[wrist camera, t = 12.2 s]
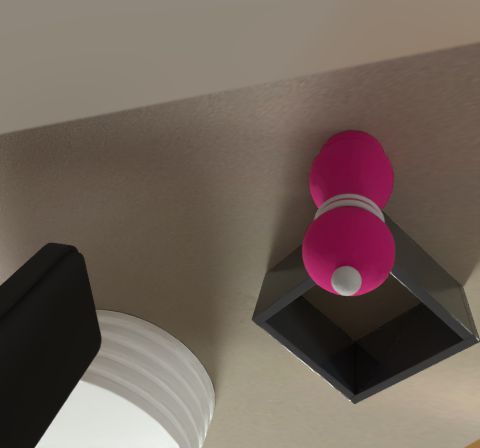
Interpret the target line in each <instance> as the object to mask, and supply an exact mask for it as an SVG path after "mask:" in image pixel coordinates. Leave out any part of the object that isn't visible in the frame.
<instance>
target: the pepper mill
mask: <svg viewBox="0 0 480 448" xmlns="http://www.w3.org/2000/svg"><path fill="white" fill-rule="evenodd" d="M393 179H394V173H393V168H392V165H391V163H390V160H389V159H388V157H387V156H386V155H385V153H384V150H383V148H382V146H381V144H380V143H379V142H378V141H377V140H376V139H375V138H374V137H372V136H371V135H369V134H367V133H365V132H361V131H345V132H341V133H339V134H337V135H335V136H333V137H331V138H330V139H329V140H328V141H327V142H326V143H325V144H324V146H323V147H322V149H321V151H320V153H319V155H318V156H317V157H316V159H315V160H314V162H313V164H312V166H311V170H310V174H309V186H310V192H311V195H312V198H313V200H314V202H315V204H316V206H317V207H318V211H317V213H316V215H315V218H314V221H313V222H312V223H311V224H310V226H309V227H308V229H307V231H306V233H305V236H304V239H303V244H302V257H303V261H304V265H305V268H306V270H307V272H308V273H309V275H310V277H311V278H312V279H313V280H314V281H315V283H317V284H318V285H319V286H321V287H322V288H324V289H325V290H327V291H329V292H332V293H335V294H339V295H344V296H355V295H361V294H364V293H367V292H370V291H372V290H374V289H376V288H377V287H378V286H379V285H381V284H382V283H383V282H384V280H385V279H386V278H387V277H388V275H389V273H390V271H391V269H392V267H393V264H394V259H395V243H394V239H393V235H392V234H391V232H390V230H389V228H388V226H387V225H386V224H385V221H384V216H383V214H382V212H381V210H382V209H383V208H384V206H385V205H386V203H387V201H388V200H389V198H390V195H391V193H392V189H393Z"/></svg>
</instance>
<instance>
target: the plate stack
mask: <svg viewBox="0 0 480 448" xmlns="http://www.w3.org/2000/svg"><path fill="white" fill-rule="evenodd" d="M96 314H97V319H98V323H99V328H100V332H101V337H102V342H101V347H100V350H99V352H98V354H97V355H96V357H95V358H94V360H93V361H92V363H91V364H90V366H89V367H88V369H87V370H86V372H85V373H84V375H83V376H82V378H81V379H80V381H79V382H78V384H77V385H76V387H75V388H74V390H73V391H72V393H71V394H70V396H69V397H68V399H67V400H66V402H65V403H64V405H63V406H62V408H61V409H60V411H59V412H58V414H57V415H56V417H55V418H54V420H53V421H52V423H51V424H50V426H49V427H48V429H47V430H46V432H45V433H44V435H43V436H42V438H41V439H40V441H39V442H38V444H37V445H36V447H35V448H202V446H203V443H204V439H205V437H206V434H207V431H208V428H209V424H210V421H211V418H212V415H213V412H214V408H215V393H214V388H213V385H212V382H211V380H210V377H209V375H208V373H207V372H206V370H205V368H204V367H203V365H202V364H201V363H200V361H199V360H198V359H197V358H196V356H195V355H194V354H193V353H192V352H191V351H190V350H189V349H188V348H187V347H186V346H185V345H184V344H182V343H181V342H180V341H179V340H177V339H176V338H175V337H173V336H172V335H171V334H169V333H168V332H166V331H164V330H163V329H161V328H159V327H157V326H155V325H154V324H151V323H149V322H147V321H145V320H142V319H140V318H137V317H134V316H131V315H128V314H124V313H120V312H115V311H108V310H96Z"/></svg>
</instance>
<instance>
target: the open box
mask: <svg viewBox="0 0 480 448" xmlns="http://www.w3.org/2000/svg"><path fill="white" fill-rule="evenodd" d="M381 212H382V214H383V216H384V221H385V224H386V225H387V226H388V228H389V230H390V232H391V234H392V235H393V239H394V243H395V259H394V264H393V267H392V269H391V271H390V273H391V274H392V275H393V276H394V277H395V278H397V279H398V280H399V281H400V282H401V283H402V284H403V285H404V286H405V287H406V288H407V289H409V290H410V291H411V292H412V293H413V294H414V295H415V296H416V297H417V298H418V299H420V300H421V301H422V302H423V303H421V304H419V305H418V306H416V307H414V308H413V309H411V310H409V311H407V312H406V313H404V314H402V315H401V316H399V317H397V318H396V319H394V320H392V321H391V322H389V323H387V324H385V325H384V326H382V327H380V328H379V329H377V330H375V331H374V332H372V333H370V334H369V335H367V336H365V337H363V338H362V339H360V340H358V341H357V342H355V341H354V340H353V339H351V338H350V337H349V336H348V335H347V334H346V333H344V332H343V331H342V330H341V329H340V328H339V327H337V326H336V325H335V324H334V323H333V322H332V321H330V320H329V319H328V318H327V317H326V316H325V315H323V314H322V313H321V312H320V311H319V310H317V309H316V308H315V307H314V306H313V305H312V304H310V303H309V302H308V301H307V300H306V299H305V298H303V297H302V296H301V295H302V294H303V293H305V292H306V291H308V290H309V289H310V288H312V287H313V286H315V285H316V284H317V283H315V281H314V280H313V279H312V278H311V277H310V275H309V273H308V272H307V270H306V268H305V265H304V261H303V257H302V245H301V246H300V247H298V248H297V249H296V250H295V251H293V252H292V253H291V254H290V255H288V256H287V257H286V258H285V259H283V260H282V261H281V262H280V263H278V264H277V265H276V266H275V267H273V268H272V269H271V270H270V271H268V272H267V273H266V274H265V277H264V280H263V283H262V287H261V290H260V293H259V297H258V300H257V303H256V307H255V310H254V313H253V317H252V321H253V322H254V323H256V324H257V325H258V326H259V327H261V328H262V329H263V330H264V331H266V332H267V333H268V334H269V335H270V336H272V337H273V338H274V339H275V340H277V341H278V342H279V343H280V344H281V345H283V346H284V347H285V348H286V349H288V350H289V351H290V352H291V353H292V354H294V355H295V356H296V357H297V358H299V359H300V360H301V361H302V362H303V363H305V364H306V365H307V366H308V367H310V368H311V369H312V370H313V371H314V372H316V373H317V374H318V375H319V376H321V377H322V378H323V379H324V380H325V381H327V382H328V383H329V384H330V385H332V386H333V387H334V388H335V389H336V390H338V391H339V392H340V393H341V394H343V395H344V396H345V397H346V398H347V399H349V400H350V401H351V402H352V403H354V404H356V403H358V402H360V401H362V400H364V399H366V398H368V397H370V396H372V395H374V394H376V393H378V392H380V391H382V390H384V389H386V388H388V387H390V386H392V385H394V384H396V383H398V382H400V381H402V380H404V379H406V378H408V377H410V376H412V375H414V374H416V373H418V372H420V371H422V370H424V369H426V368H428V367H430V366H432V365H434V364H436V363H438V362H440V361H442V360H445V359H447V358H449V357H451V356H453V355H455V354H457V353H459V352H461V351H463V350H465V349H467V348H469V347H471V346H473V345H475V344H477V343H479V342H480V339H479V336H478V332H477V329H476V326H475V323H474V320H473V317H472V314H471V310H470V307H469V304H468V301H467V298H466V295H465V292H464V288H463V287H462V286H461V285H460V284H459V283H458V282H457V281H456V280H455V279H454V278H453V277H452V276H451V275H450V274H449V273H448V272H446V271H445V270H444V269H443V268H442V267H441V266H440V265H439V264H438V263H437V262H436V261H435V260H434V259H433V258H432V257H431V256H430V255H428V254H427V253H426V252H425V251H424V250H423V249H422V248H421V247H420V246H419V245H418V244H417V243H416V242H415V241H414V240H413V239H411V238H410V237H409V236H408V235H407V234H406V233H405V232H404V231H403V230H402V229H401V228H400V227H399V226H398V225H397V224H396V223H395V222H393V221H392V220H391V219H390V218H389V217H388V216H387V215H386V214H385V213H384V212H383V211H382V210H381Z"/></svg>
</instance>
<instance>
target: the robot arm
mask: <svg viewBox="0 0 480 448" xmlns="http://www.w3.org/2000/svg"><path fill="white" fill-rule="evenodd" d="M101 342H102V337H101V332H100V328H99V323H98V319H97V314H96V310H95V305H94V300H93V296H92V291H91V287H90V282H89V278H88V273H87V269H86V264H85V260H84V257H83V255H82V254H81V253H79V252H78V250H77V248H76V247H75V246H72V245H65V244H58V243H48V244H46V245H45V246H44V247H42V248H41V249H40V250H39V251H38V252H37V253H36V254H35V255H34V256H33V257H31V258H30V259H29V260H28V261H27V262H26V263H25V264H24V265H23V266H22V267H20V268H19V269H18V270H17V271H16V272H15V273H14V274H13V275H12V276H11V277H10V278H8V279H7V280H6V281H5V282H4V283H3V284H2V285H1V286H0V448H35V447H36V445H37V444H38V442H39V441H40V439H41V438H42V436H43V435H44V433H45V432H46V430H47V429H48V427H49V426H50V424H51V423H52V421H53V420H54V418H55V417H56V415H57V414H58V412H59V411H60V409H61V408H62V406H63V405H64V403H65V402H66V400H67V399H68V397H69V396H70V394H71V393H72V391H73V390H74V388H75V387H76V385H77V384H78V382H79V381H80V379H81V378H82V376H83V375H84V373H85V372H86V370H87V369H88V367H89V366H90V364H91V363H92V361H93V360H94V358H95V357H96V355H97V354H98V352H99V350H100V347H101Z"/></svg>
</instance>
